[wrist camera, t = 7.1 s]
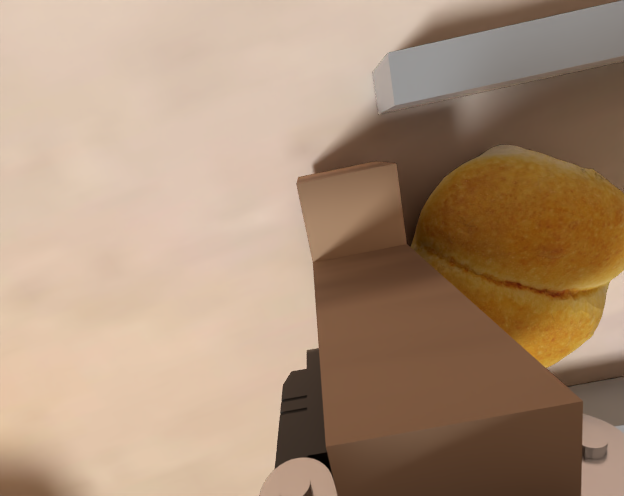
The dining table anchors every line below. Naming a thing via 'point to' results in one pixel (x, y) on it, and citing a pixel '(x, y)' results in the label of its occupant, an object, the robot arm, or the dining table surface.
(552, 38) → the bread corral
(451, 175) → the bread roll
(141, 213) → the dining table surface
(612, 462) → the robot arm
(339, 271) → the tan stepped block
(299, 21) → the dining table surface
